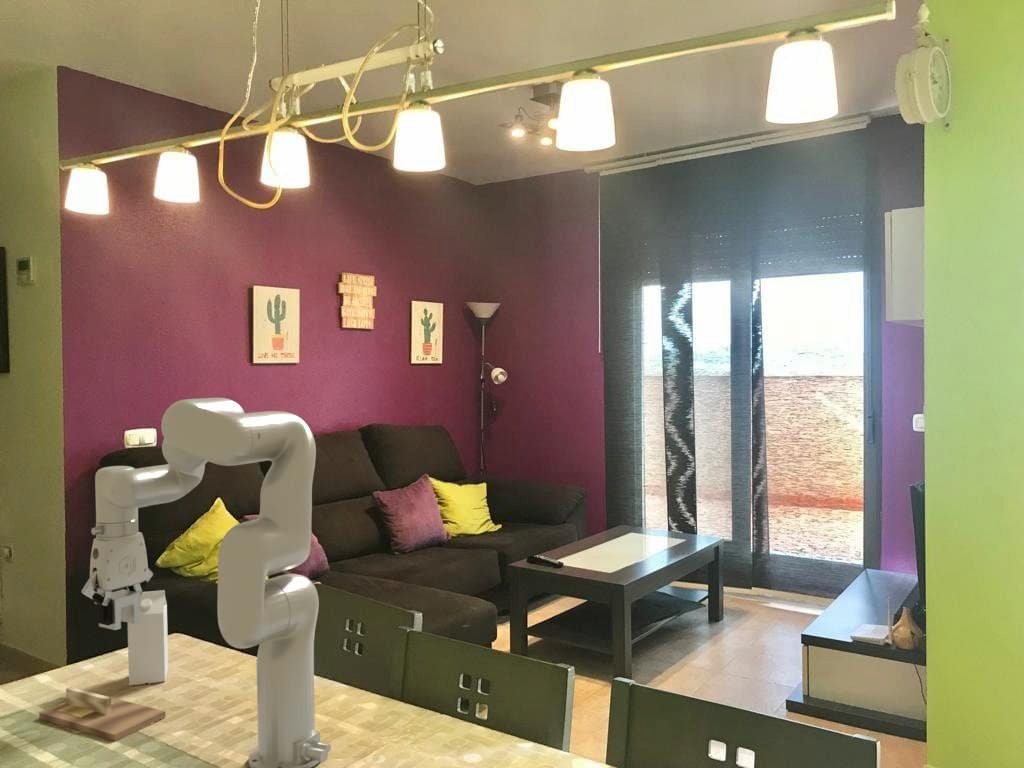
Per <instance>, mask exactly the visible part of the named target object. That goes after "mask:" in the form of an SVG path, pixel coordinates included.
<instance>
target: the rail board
mask: <svg viewBox="0 0 1024 768" xmlns="http://www.w3.org/2000/svg"><path fill="white" fill-rule="evenodd" d="M65 692H66V694H65V695H66V697H65V698H66V700H65V702H62V703H60V704H57V705H55V706H52V707H50V708H46V709H44V710H42V711H40V712H38V716H39V717H38V718H39V720H42V721H47V722H49V723H53V724H57V725H59V726H62V727H66V728H69V727H70V729H72V728H73V730H76V729H77V730H76V731H79V730H81V731H80V732H82V733H86V732H87V734H89V733H90V735H93V736H96V735H97V737H99V736H101V737H100V738H103V737H104V738H103V739H106V738H108V739H107V740H110V739H111V741H113V740H114V742H116V740H117V741H118V739H119V740H121V739H123V738H125V737H127V735H128V736H129V734H130V735H132V734H134V733H136V732H138V731H140V730H142V729H144V728H143V727H145V726H147V725H149V724H151V723H153V722H155V721H157V720H159V719H162V718H164V717H166V716H167V713H166V712H167V711H166V710H161V709H157V708H154V707H151V706H147V705H142V704H138V703H134V702H132V701H126V700H123V699H120V698H116V697H112V696H109V695H108V696H107V695H104V694H100V693H97V692H92V691H88V690H83V689H80V688H76V687H73V686H70V687H67V688H66V689H65ZM164 719H165V718H164ZM162 720H163V719H162ZM159 721H160V720H159ZM157 722H158V721H157ZM155 723H156V722H155ZM153 724H154V723H153ZM151 725H152V724H151ZM149 726H150V725H149ZM147 727H148V726H147ZM141 728H142V729H141ZM145 728H146V727H145ZM137 730H138V731H137ZM133 732H134V733H133ZM131 733H132V734H131ZM122 737H123V738H122Z"/></svg>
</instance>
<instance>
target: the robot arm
mask: <svg viewBox="0 0 1024 768" xmlns="http://www.w3.org/2000/svg"><path fill="white" fill-rule="evenodd" d="M160 426H161V433H162V435H163V441H162V443H161V450H162V455H163V458H164V459H165V461H166V463H167V464H161V465H160V464H159V465H152V466H145V467H140V468H135V467H132V466H130V465H129V466H128V465H113V466H112V465H111V466H106V467H102V468H100V469H98V470H96V471H97V472H96V473H95V478H94V479H95V480H94V483H95V484H94V485H95V521H96V522H95V527H92V528H91V531H90V532H91V535H93V536H96V537H95V538H94V539H93V541H92V546H91V551H90V552H91V553H90V559H89V560H90V564H89V579H88V580H87V581H86V583H85V584H84V586H83V588H82V589H81V593H82V594H83V595H84V596H86V597H88V598H89V599H90V601H91V600H92V602H94V604H95V605H97V620H98V624H99V623H100V624H104V625H111V624H112V606H111V605H110V604H109V600H110V596H111V593H112V592H114V591H118V590H121V589H125V588H126V590H128V591H133V592H139V596H141V595H142V592H143V591H144V589H145V587H146V586H147V584H148V582H149V581H150V580H151V579H152V577H153V576H154V573H153V571H152V570H151V569H150V568H149V565H148V555H147V554H148V553H147V548H146V544H145V538H144V535H143V532H140V531H139V509H140V508H145V507H150V506H154V505H160V504H167V503H171V502H174V501H177V500H179V499H181V498H183V497H184V496H186V495H187V494H189V493H190V492H191V491H193V490H194V488H196V487H197V486H198V485H199V484H200V483H201V482H202V479H203V477H204V474H205V469H206V464H207V463H208V462H209V463H212V464H215V465H219V466H224V467H225V466H226V467H229V466H239V465H247V464H253V463H261V462H265V461H270V462H271V465H270V468H269V469H268V471H267V473H266V474H265V477H264V479H263V482H262V484H261V489H260V505H259V506H260V507H259V514H258V517H257V518H256V519H252V520H247V521H243V522H241V523H238V524H236V525H234V526H233V527H231V528H230V529H228V531H227V532H226V533H225V535H224V536H223V538H222V540H221V543H220V546H219V547H218V548H219V550H218V555H217V556H218V557H217V558H218V559H217V601H216V602H217V603H216V604H217V607H216V608H217V610H216V612H217V623H218V627H219V631H220V633H221V636H222V638H223V639H224V641H225V642H226V643H227V644H228V645H230V646H231V647H234V648H235V649H248V648H252V647H256V646H258V645H259V646H258V650H257V655H256V704H257V705H256V706H257V708H256V709H257V712H256V713H257V716H256V717H257V746H256V747H255V748H254V749H252V750H251V752H250V753H249V756H248V765H249V766H248V767H250V768H313V767H315V766H316V765H318V764H319V763H322V764H323V763H324V762H326V761H327V759H328V755H329V753H330V751H331V749H332V746H331V745H332V744H330V743H326V742H322V741H321V736H320V735H321V733H320V732H321V731H319V730H316V723H315V722H316V719H315V717H316V716H315V713H316V712H315V664H314V663H315V656H314V655H315V652H314V650H315V632H316V626H317V621H318V616H319V615H318V614H319V606H320V601H319V595H318V590H317V588H316V586H315V584H314V583H313V581H311V580H310V578H308V577H307V576H304V575H301V574H299V573H286V574H281V575H277V576H275V577H272V578H269V579H267V577H269V576H272V575H276V574H279V573H282V572H285V571H288V570H291V569H293V568H294V569H295V568H296V567H299V566H300V565H302V564H303V563H305V562H306V561H307V559H308V558H309V556H310V552H311V548H312V547H311V545H312V512H313V499H312V498H313V497H312V496H313V495H312V493H313V482H314V476H315V475H314V474H315V468H316V458H317V456H316V455H317V447H316V441H315V438H314V435H313V432H312V430H311V428H310V427H309V425H308V423H306V422H305V420H304V419H302V418H301V417H299V416H298V415H296V414H294V413H291V412H287V411H278V410H272V411H271V410H269V411H268V410H267V411H256V412H255V411H254V412H247V413H246V412H245V411H244V409H243V408H242V406H241V405H240V404H239V403H238V402H236V401H235V400H232V399H229V398H226V397H206V398H205V397H204V398H203V397H200V398H187V399H180V400H178V401H176V402H174V403H172V404H171V405H170V406H169V407H168V408H167V409H166V410H165V412H164V413H163V416H162V419H161V425H160ZM95 589H96V591H95ZM139 609H140V597H139Z"/></svg>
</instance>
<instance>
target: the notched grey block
mask: <svg viewBox="0 0 1024 768" xmlns="http://www.w3.org/2000/svg"><path fill="white" fill-rule="evenodd" d="M109 604H110V605H111V606H112V624H111V625H104V624H100V623H99V622H98V627H100V628H104V629H105V628H106V629H108V630H113V631H117V630H120V629H122V622H125V623H127V624H128V623H132V624H136V623H139V622H140V610H139V592H133V591H128V590H127V589H118V590H114V591H112V593H111V596H110V600H109Z"/></svg>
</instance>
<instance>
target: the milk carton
mask: <svg viewBox="0 0 1024 768" xmlns="http://www.w3.org/2000/svg"><path fill="white" fill-rule="evenodd" d="M139 597H140V609H139V610H140V622H139V623H136V624H132V623H128V622H127V652H128V653H127V654H128V658H127V659H128V684H129V686H139V685H146V684H145V683H148V684H154V683H163V681H164V682H166V679H167V675H168V671H169V640H168V639H169V638H168V602H167V598H166V591H165V589H163V590H153V591H142V595H141V596H139Z"/></svg>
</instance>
